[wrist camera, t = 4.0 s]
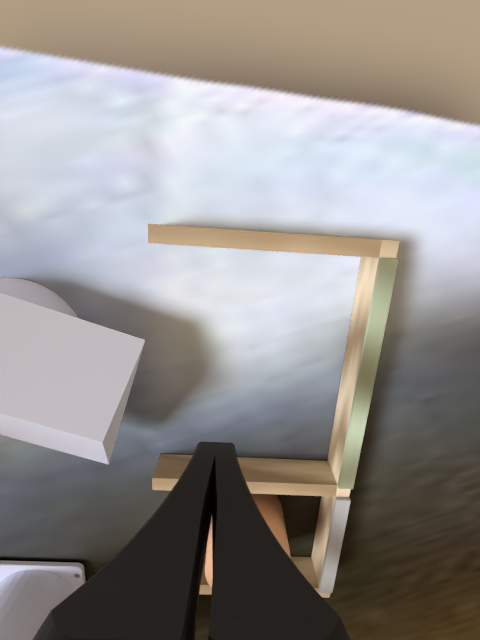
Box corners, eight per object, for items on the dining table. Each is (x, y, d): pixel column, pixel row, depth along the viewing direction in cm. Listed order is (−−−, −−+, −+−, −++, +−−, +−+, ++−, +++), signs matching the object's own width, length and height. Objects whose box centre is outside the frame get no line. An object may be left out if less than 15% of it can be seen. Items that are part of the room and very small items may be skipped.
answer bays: (321, 565, 26) (330, 602, 24) (161, 561, 26) (153, 597, 23) (379, 240, 19) (402, 240, 16) (158, 225, 19) (146, 223, 16)
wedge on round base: (159, 323, 20) (-39, 257, 19) (124, 363, 14) (-181, 268, 12) (126, 432, 23) (-54, 380, 21) (83, 510, 16) (-181, 442, 15)
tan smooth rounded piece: (278, 541, 26) (287, 603, 21) (208, 539, 25) (203, 601, 21) (285, 484, 24) (297, 538, 20) (211, 481, 24) (206, 535, 20)
